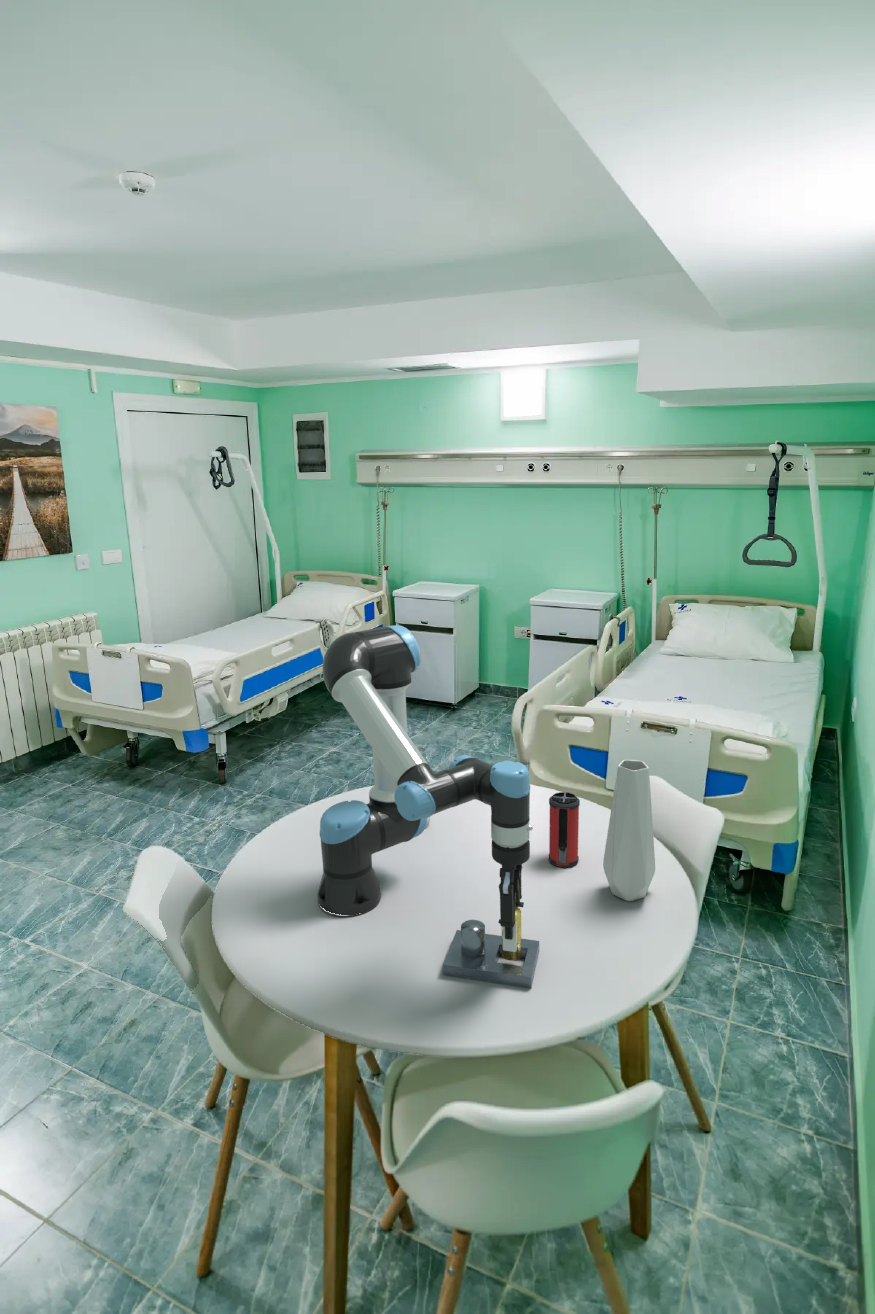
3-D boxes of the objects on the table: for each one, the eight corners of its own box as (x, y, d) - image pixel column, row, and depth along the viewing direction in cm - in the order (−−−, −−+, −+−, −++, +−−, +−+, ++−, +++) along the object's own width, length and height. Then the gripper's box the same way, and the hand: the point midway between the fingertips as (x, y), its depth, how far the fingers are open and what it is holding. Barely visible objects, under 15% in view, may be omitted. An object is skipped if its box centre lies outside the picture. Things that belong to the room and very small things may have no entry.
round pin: (500, 959, 154) (499, 915, 151) (503, 947, 158) (503, 904, 155) (519, 961, 153) (519, 918, 150) (523, 949, 157) (522, 907, 154)
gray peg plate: (443, 975, 154) (442, 941, 152) (457, 939, 165) (456, 907, 163) (531, 988, 149) (531, 953, 147) (539, 951, 160) (539, 918, 158)
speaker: (547, 866, 193) (547, 802, 189) (550, 852, 201) (550, 789, 196) (577, 869, 192) (578, 804, 187) (579, 854, 199) (580, 791, 194)
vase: (610, 874, 189) (614, 751, 181) (657, 886, 183) (663, 759, 175) (594, 898, 179) (597, 769, 171) (642, 911, 173) (648, 778, 165)
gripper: (523, 863, 140) (523, 972, 146) (535, 821, 156) (535, 921, 162) (483, 859, 142) (485, 966, 148) (499, 818, 158) (501, 917, 164)
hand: (511, 942), depth 155 cm, fingers closed on round pin, 4 cm apart
